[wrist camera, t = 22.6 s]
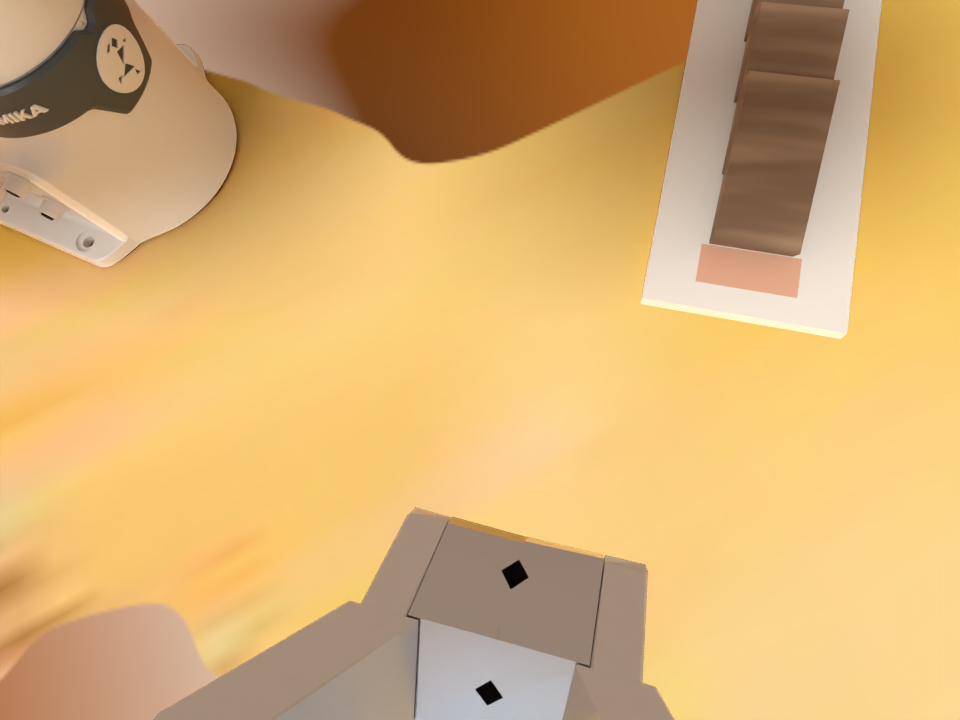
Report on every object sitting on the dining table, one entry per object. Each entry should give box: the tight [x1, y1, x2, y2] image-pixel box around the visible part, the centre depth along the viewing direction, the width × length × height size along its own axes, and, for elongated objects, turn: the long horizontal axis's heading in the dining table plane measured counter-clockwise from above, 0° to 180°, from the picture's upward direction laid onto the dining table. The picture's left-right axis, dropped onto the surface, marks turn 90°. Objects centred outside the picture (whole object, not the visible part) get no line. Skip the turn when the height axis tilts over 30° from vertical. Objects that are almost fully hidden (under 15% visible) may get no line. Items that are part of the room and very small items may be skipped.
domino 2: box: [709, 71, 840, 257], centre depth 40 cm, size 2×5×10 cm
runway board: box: [640, 0, 882, 339], centre depth 44 cm, size 12×26×1 cm, turn 167°
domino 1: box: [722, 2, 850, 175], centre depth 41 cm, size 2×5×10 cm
